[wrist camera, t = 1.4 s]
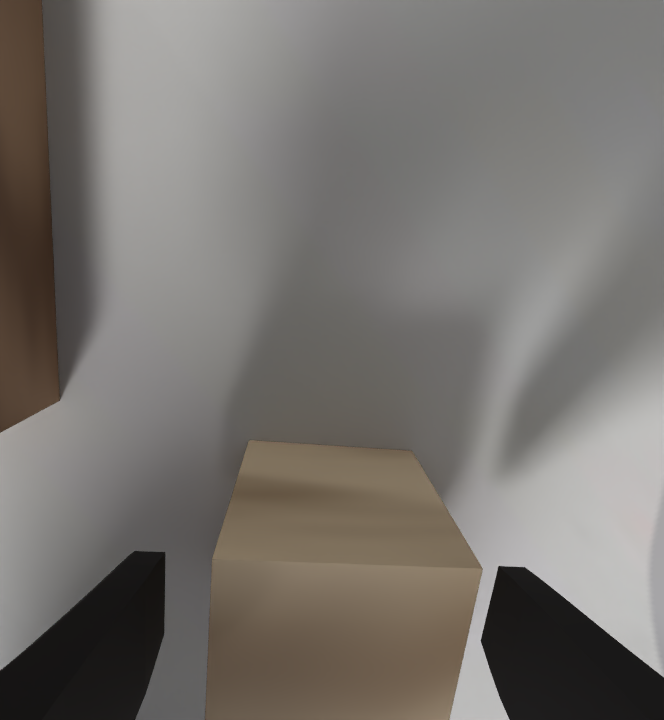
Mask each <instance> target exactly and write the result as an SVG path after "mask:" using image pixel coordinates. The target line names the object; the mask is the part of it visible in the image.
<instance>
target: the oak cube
mask: <svg viewBox="0 0 664 720" xmlns="http://www.w3.org/2000/svg"><path fill="white" fill-rule="evenodd" d="M482 570H483V568H482V567H481V565H480V563H479V562H478V560H477V558H476V557H475V555H474V553H473V552H472V550H471V548H470V547H469V545H468V543H467V542H466V540H465V538H464V537H463V535H462V533H461V532H460V530H459V528H458V527H457V525H456V523H455V522H454V520H453V518H452V517H451V515H450V513H449V512H448V510H447V508H446V507H445V505H444V503H443V502H442V500H441V498H440V497H439V495H438V493H437V492H436V490H435V488H434V487H433V485H432V483H431V482H430V480H429V478H428V477H427V475H426V473H425V472H424V470H423V468H422V467H421V465H420V463H419V462H418V460H417V458H416V457H415V455H414V453H413V452H412V451H407V450H392V449H376V448H361V447H346V446H331V445H316V444H301V443H285V442H270V441H255V440H249V442H248V445H247V448H246V451H245V454H244V458H243V461H242V464H241V467H240V471H239V474H238V477H237V480H236V483H235V487H234V490H233V493H232V496H231V500H230V503H229V506H228V509H227V512H226V516H225V519H224V522H223V525H222V529H221V532H220V535H219V538H218V541H217V545H216V548H215V551H214V554H213V558H212V571H211V594H210V617H209V640H208V663H207V686H206V708H205V720H449V718H450V714H451V709H452V705H453V700H454V696H455V691H456V687H457V682H458V678H459V673H460V669H461V664H462V660H463V655H464V651H465V647H466V642H467V638H468V633H469V629H470V624H471V620H472V615H473V611H474V606H475V602H476V597H477V593H478V588H479V584H480V579H481V575H482Z"/></svg>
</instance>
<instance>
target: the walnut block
mask: <svg viewBox="0 0 664 720" xmlns="http://www.w3.org/2000/svg"><path fill="white" fill-rule="evenodd" d="M58 401H60V394H59V372H58V350H57V327H56V305H55V283H54V260H53V238H52V216H51V194H50V171H49V149H48V127H47V104H46V82H45V60H44V38H43V15H42V0H0V432H2V431H4V430H6V429H8V428H10V427H12V426H13V425H15V424H17V423H19V422H21V421H23V420H25V419H26V418H28V417H30V416H32V415H34V414H36V413H38V412H39V411H41V410H43V409H45V408H47V407H49V406H51V405H52V404H54V403H56V402H58Z"/></svg>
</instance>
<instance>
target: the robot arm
mask: <svg viewBox="0 0 664 720" xmlns="http://www.w3.org/2000/svg"><path fill="white" fill-rule="evenodd" d="M164 610H165V552H144V551H134V552H133V553H132V554H130V555H129V556H128V557H127V558H126V559H125V560H124V561H123V562H121V563H120V564H119V565H118V566H117V567H116V568H115V569H114V570H113V571H112V572H111V573H110V574H109V575H108V576H107V577H105V578H104V579H103V580H102V581H101V582H100V583H99V584H98V585H97V586H96V587H95V588H94V589H93V590H91V591H90V592H89V593H88V594H87V595H86V596H85V597H84V598H83V599H82V600H81V601H80V602H78V603H77V604H76V605H75V606H74V607H73V608H72V609H71V610H70V611H69V612H67V613H66V614H65V615H64V616H63V617H62V618H61V619H60V620H58V621H57V622H56V623H55V624H54V625H53V626H52V627H51V628H49V629H48V630H47V631H46V632H45V633H44V634H43V635H42V636H40V637H39V638H38V639H37V640H36V641H35V642H34V643H33V644H31V645H30V646H29V647H28V648H27V649H26V650H24V651H23V652H22V653H21V654H20V655H19V656H17V657H16V658H15V659H14V660H13V661H11V662H10V663H9V664H8V665H7V666H5V667H4V668H3V669H2V670H1V671H0V720H135V719H136V716H137V714H138V711H139V709H140V706H141V704H142V701H143V699H144V696H145V694H146V691H147V688H148V684H149V681H150V678H151V675H152V672H153V669H154V666H155V662H156V659H157V656H158V652H159V649H160V646H161V642H162V639H163V636H164ZM481 643H482V646H483V649H484V652H485V655H486V658H487V661H488V665H489V668H490V671H491V674H492V676H493V679H494V682H495V685H496V688H497V691H498V694H499V696H500V699H501V701H502V703H503V706H504V708H505V710H506V713H507V715H508V717H509V719H510V720H664V677H662V676H661V675H660V674H659V673H657V672H656V671H655V670H653V669H652V668H651V667H650V666H648V665H647V664H646V663H644V662H643V661H642V660H641V659H639V658H638V657H637V656H636V655H634V654H633V653H632V652H630V651H629V650H628V649H627V648H625V647H624V646H623V645H622V644H620V643H619V642H618V641H617V640H615V639H614V638H613V637H612V636H610V635H609V634H608V633H607V632H605V631H604V630H603V629H602V628H601V627H599V626H598V625H597V624H596V623H594V622H593V621H592V620H591V619H589V618H588V617H587V616H586V615H585V614H583V613H582V612H581V611H580V610H578V609H577V608H576V607H575V606H573V605H572V604H571V603H570V602H569V601H567V600H566V599H565V598H564V597H562V596H561V595H560V594H559V593H557V592H556V591H555V590H554V589H552V588H551V587H550V586H549V585H547V584H546V583H545V582H544V581H542V580H541V579H540V578H538V577H537V576H536V575H534V574H533V573H532V572H530V571H529V570H528V569H526V568H525V567H504V566H499V567H498V571H497V576H496V580H495V584H494V588H493V592H492V596H491V600H490V605H489V609H488V613H487V617H486V621H485V625H484V630H483V634H482V638H481Z"/></svg>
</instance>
